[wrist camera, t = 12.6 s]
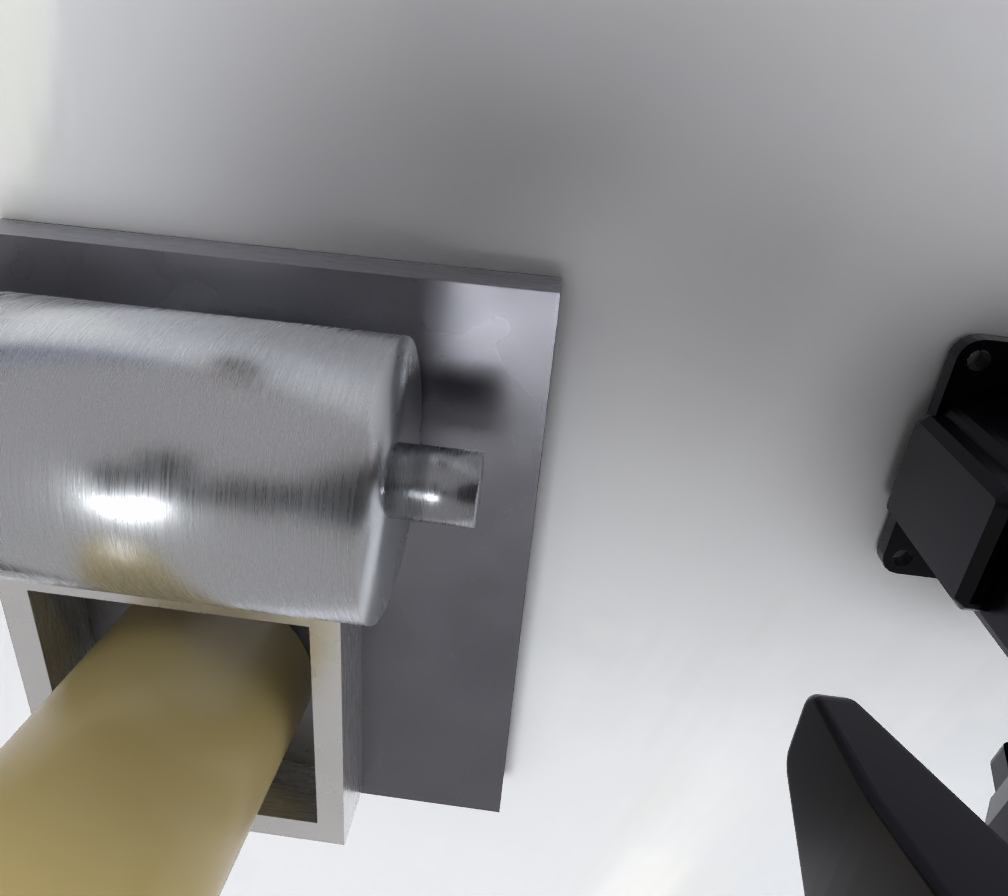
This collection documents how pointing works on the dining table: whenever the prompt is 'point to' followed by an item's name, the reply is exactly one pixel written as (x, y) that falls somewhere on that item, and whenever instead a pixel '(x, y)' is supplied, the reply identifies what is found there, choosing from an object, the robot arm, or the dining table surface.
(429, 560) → the motor mount
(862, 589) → the dining table surface
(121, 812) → the bottle
